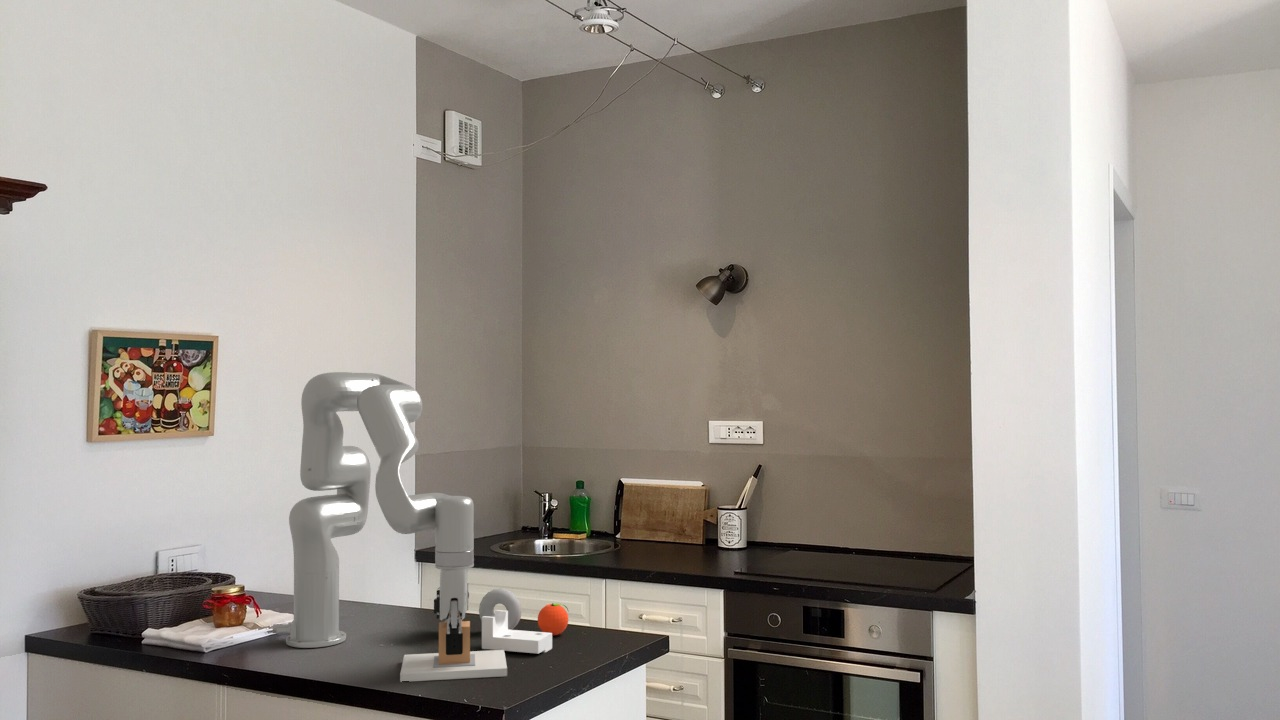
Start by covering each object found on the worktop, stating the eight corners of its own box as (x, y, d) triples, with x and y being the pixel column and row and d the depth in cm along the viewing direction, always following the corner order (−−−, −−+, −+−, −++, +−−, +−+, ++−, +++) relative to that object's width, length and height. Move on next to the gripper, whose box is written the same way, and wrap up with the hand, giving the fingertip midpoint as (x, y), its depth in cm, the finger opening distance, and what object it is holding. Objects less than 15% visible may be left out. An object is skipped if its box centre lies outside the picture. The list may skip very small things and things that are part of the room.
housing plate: (400, 681, 188) (400, 655, 188) (404, 662, 202) (404, 637, 202) (507, 676, 192) (507, 650, 192) (504, 657, 205) (504, 633, 206)
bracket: (481, 653, 210) (481, 616, 210) (497, 645, 217) (497, 609, 217) (538, 658, 206) (538, 621, 206) (552, 649, 212) (552, 613, 213)
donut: (523, 632, 227) (523, 587, 227) (518, 635, 223) (518, 590, 224) (482, 630, 229) (482, 586, 229) (476, 633, 225) (476, 589, 226)
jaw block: (438, 664, 194) (438, 627, 194) (439, 657, 199) (439, 622, 199) (470, 662, 195) (470, 626, 195) (469, 656, 200) (469, 621, 200)
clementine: (559, 629, 230) (559, 598, 230) (578, 634, 225) (578, 602, 225) (531, 635, 224) (531, 603, 224) (550, 640, 219) (550, 608, 219)
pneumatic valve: (469, 629, 230) (469, 576, 230) (455, 642, 218) (455, 586, 218) (446, 629, 230) (446, 576, 231) (430, 641, 219) (430, 586, 219)
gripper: (436, 552, 205) (436, 638, 205) (433, 567, 188) (433, 661, 188) (473, 551, 207) (473, 637, 206) (474, 566, 190) (474, 659, 189)
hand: (454, 648), depth 197 cm, fingers open, 8 cm apart
